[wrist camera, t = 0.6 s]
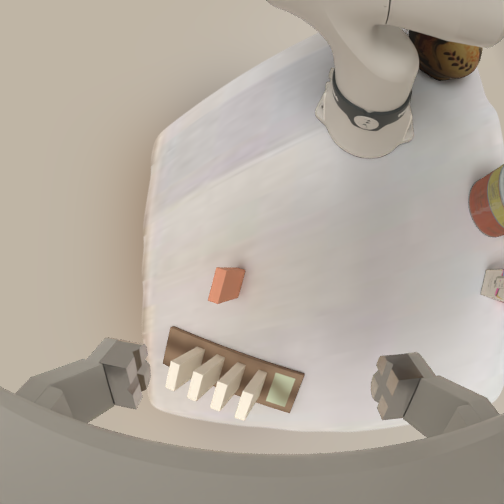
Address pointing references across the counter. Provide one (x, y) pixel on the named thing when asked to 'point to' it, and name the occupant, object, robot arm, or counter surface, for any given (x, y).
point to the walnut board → (276, 382)
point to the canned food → (488, 203)
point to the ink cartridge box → (494, 284)
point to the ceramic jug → (444, 56)
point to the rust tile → (226, 284)
